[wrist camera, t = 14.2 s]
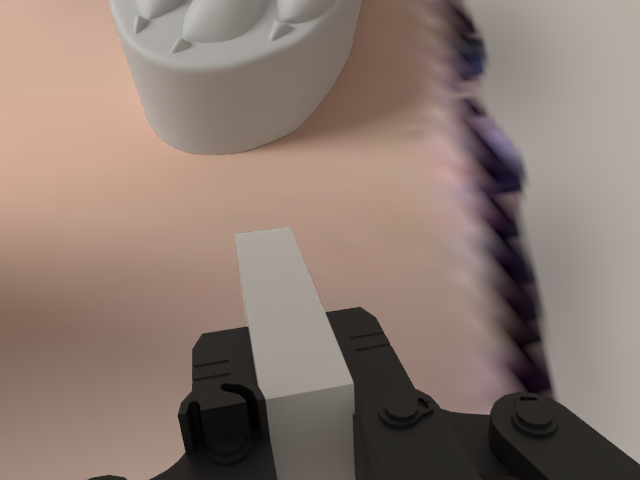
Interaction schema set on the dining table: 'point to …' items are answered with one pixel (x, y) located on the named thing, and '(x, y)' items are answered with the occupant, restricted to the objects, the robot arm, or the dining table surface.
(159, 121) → the lumpy-topped squat cylinder
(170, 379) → the dining table surface
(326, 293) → the dining table surface
